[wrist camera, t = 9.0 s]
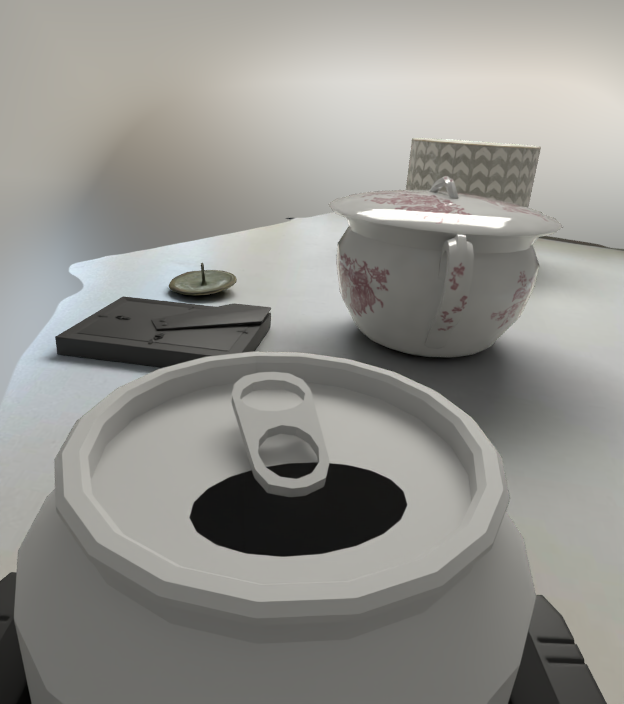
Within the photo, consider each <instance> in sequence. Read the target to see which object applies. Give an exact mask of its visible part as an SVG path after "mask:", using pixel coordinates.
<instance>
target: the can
mask: <svg viewBox="0 0 624 704" xmlns="http://www.w3.org/2000/svg"><path fill="white" fill-rule="evenodd" d="M509 500H510V495H509V490H508V485H507V480H506V475H505V470H504V466H503V461H502V456H501V455H500V454H499V452H498V451H497V450H496V448H495V447H494V446H493V444H492V443H491V442H490V440H489V439H488V437H487V436H486V435H485V433H484V432H483V431H482V429H481V428H480V427H479V425H478V424H477V423H476V421H475V420H474V419H473V418H472V417H470V416H469V415H468V414H466V413H465V412H464V411H462V410H461V409H460V408H458V407H457V406H456V405H454V404H453V403H451V402H450V401H449V400H447V399H446V398H445V397H443V396H442V395H441V394H439V393H438V392H437V391H435V390H433V389H430V388H428V387H426V386H424V385H422V384H419V383H417V382H415V381H413V380H411V379H409V378H406V377H404V376H402V375H400V374H398V373H396V372H393V371H389V370H386V369H382V368H379V367H375V366H372V365H368V364H364V363H361V362H357V361H354V360H350V359H344V358H337V357H330V356H323V355H316V354H309V353H302V352H245V353H236V354H227V355H218V356H209V357H203V358H199V359H195V360H191V361H188V362H184V363H180V364H176V365H172V366H168V367H164V368H161V369H158V370H156V371H153V372H151V373H149V374H147V375H145V376H143V377H140V378H138V379H136V380H134V381H132V382H130V383H127V384H125V385H123V386H121V387H119V388H117V389H115V390H114V391H113V392H112V393H110V394H109V395H108V396H107V397H106V398H104V399H103V400H102V401H101V402H99V403H98V404H97V405H96V406H94V407H93V408H92V409H91V410H90V411H88V412H87V413H86V414H85V415H83V416H82V417H81V418H80V419H78V420H77V421H76V423H75V424H74V426H73V428H72V430H71V431H70V433H69V435H68V437H67V438H66V440H65V442H64V444H63V445H62V447H61V449H60V451H59V453H58V454H57V456H56V458H55V489H54V490H53V491H52V492H51V493H50V494H49V495H48V496H47V498H46V499H45V501H44V503H43V505H42V507H41V509H40V511H39V513H38V514H37V516H36V518H35V520H34V522H33V524H32V526H31V528H30V529H29V531H28V533H27V535H26V537H25V539H24V541H23V543H22V544H21V546H20V548H19V550H18V559H17V575H16V591H15V607H14V621H15V626H16V631H17V636H18V640H19V645H20V650H21V655H22V660H23V664H24V669H25V674H26V679H27V684H28V688H29V693H30V698H31V703H32V704H508V701H509V698H510V695H511V692H512V689H513V685H514V682H515V679H516V676H517V672H518V669H519V666H520V662H521V658H522V654H523V650H524V646H525V641H526V637H527V633H528V629H529V625H530V621H531V616H532V612H533V608H534V604H535V600H536V593H535V589H534V584H533V579H532V575H531V570H530V565H529V561H528V556H527V552H526V547H525V542H524V538H523V536H522V535H521V533H520V532H519V530H518V528H517V527H516V525H515V524H514V522H513V521H512V519H511V518H510V516H509V515H508V513H507V512H506V509H507V507H508V504H509Z"/></svg>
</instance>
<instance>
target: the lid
mask: <svg viewBox="0 0 624 704" xmlns="http://www.w3.org/2000/svg"><path fill="white" fill-rule="evenodd" d="M236 280H237V279H236V276H234V275H233V274H231V273H228V272H225V271H218V270H204V265H203V263H201V271H192V272H187V273H184V274H181V275H179V276H177V277H175V278H174V279H172V281H171V282H170V284H169V288H170V289H171V290H172V291H174V292H177V293H180V294H185V295H208V294H213V293H216V292H220V291H222V290H225V289H227V288H229V287H231V286H233V285H234V284H235V283H236Z"/></svg>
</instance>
